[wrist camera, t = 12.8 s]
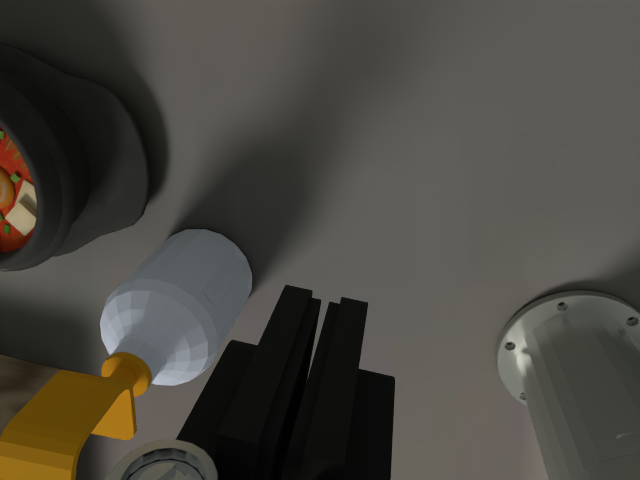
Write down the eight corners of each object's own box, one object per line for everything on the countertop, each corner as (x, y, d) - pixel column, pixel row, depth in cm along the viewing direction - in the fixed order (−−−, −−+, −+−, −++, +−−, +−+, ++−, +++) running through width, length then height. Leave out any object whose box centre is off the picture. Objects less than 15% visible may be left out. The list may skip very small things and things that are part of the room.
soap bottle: (162, 306, 50) (-39, 547, 28) (157, 219, 46) (-81, 419, 24) (252, 321, 49) (118, 583, 27) (255, 234, 45) (101, 456, 23)
